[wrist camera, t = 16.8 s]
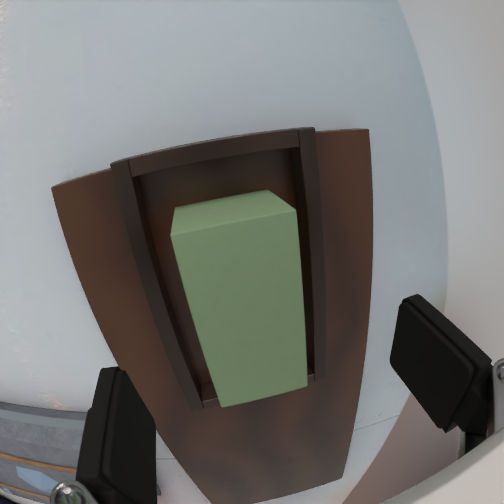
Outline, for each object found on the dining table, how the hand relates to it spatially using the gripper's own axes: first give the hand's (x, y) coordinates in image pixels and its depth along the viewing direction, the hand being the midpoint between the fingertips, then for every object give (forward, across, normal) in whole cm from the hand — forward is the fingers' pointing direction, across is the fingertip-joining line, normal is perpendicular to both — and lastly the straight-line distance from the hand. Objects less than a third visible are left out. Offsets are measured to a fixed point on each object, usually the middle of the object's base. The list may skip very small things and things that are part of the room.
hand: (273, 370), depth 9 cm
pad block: (+7, 0, 0) cm, 7 cm away
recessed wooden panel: (+8, 0, +13) cm, 15 cm away
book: (+8, +22, +16) cm, 28 cm away
